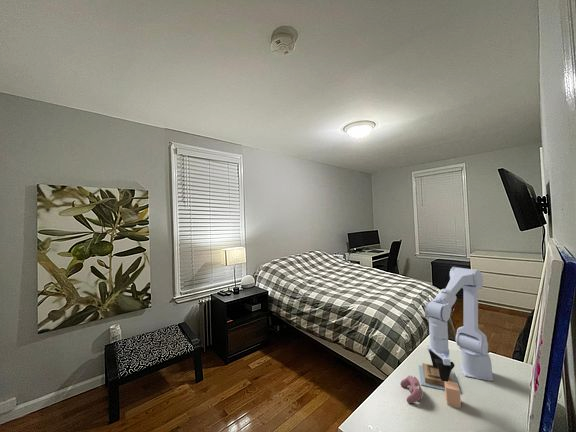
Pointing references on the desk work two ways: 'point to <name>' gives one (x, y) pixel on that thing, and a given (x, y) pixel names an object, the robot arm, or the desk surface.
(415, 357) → the desk surface
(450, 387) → the terracotta block
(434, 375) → the walnut plinth
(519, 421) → the desk surface
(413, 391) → the video game controller
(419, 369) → the mat
